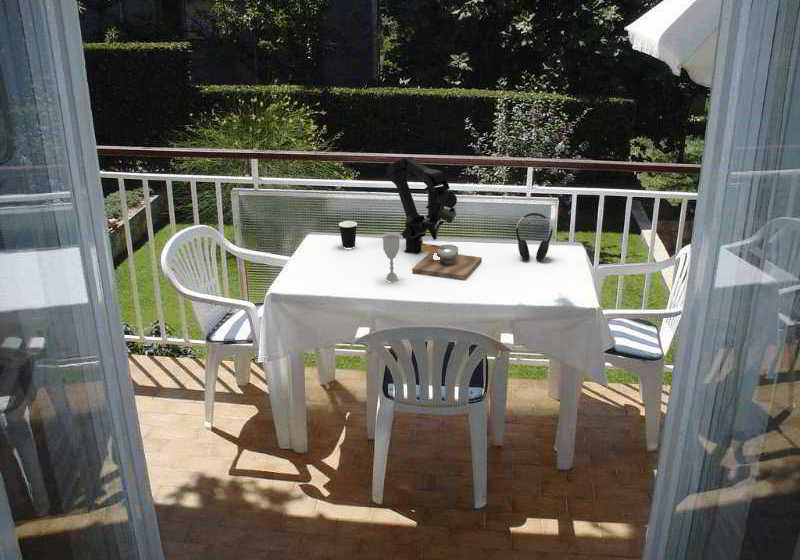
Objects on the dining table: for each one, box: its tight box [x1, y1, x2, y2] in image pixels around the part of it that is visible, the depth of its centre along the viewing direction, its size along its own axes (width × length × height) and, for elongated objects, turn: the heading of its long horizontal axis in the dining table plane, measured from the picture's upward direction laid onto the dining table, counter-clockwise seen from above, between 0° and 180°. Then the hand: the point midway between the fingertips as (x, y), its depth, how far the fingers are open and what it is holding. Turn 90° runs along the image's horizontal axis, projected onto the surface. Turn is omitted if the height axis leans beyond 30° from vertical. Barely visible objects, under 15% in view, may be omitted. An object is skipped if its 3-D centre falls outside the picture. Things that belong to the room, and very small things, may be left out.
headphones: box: [515, 212, 554, 261], centre depth 316 cm, size 9×15×20 cm, turn 80°
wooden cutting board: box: [411, 252, 483, 281], centre depth 311 cm, size 22×22×5 cm
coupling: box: [421, 243, 459, 259], centre depth 311 cm, size 15×8×3 cm, turn 66°
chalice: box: [381, 232, 401, 282], centre depth 297 cm, size 7×7×18 cm
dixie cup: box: [338, 220, 358, 248], centre depth 334 cm, size 8×8×11 cm
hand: (434, 239), depth 318 cm, fingers closed
